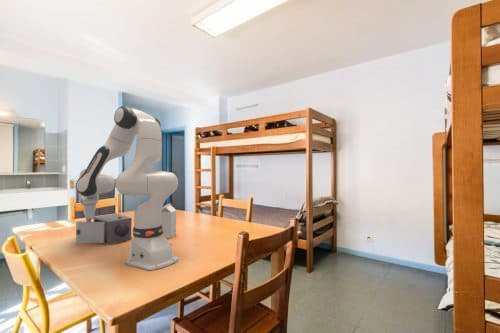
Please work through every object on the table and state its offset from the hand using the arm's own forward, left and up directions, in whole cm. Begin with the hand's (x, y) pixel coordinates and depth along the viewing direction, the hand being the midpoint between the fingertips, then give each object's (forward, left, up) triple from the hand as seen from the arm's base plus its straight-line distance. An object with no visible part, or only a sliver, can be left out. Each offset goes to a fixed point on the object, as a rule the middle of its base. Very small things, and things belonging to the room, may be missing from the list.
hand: (88, 224), depth 125 cm
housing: (-3, -11, -10) cm, 15 cm away
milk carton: (-23, -33, -10) cm, 41 cm away
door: (-4, 0, -9) cm, 10 cm away
